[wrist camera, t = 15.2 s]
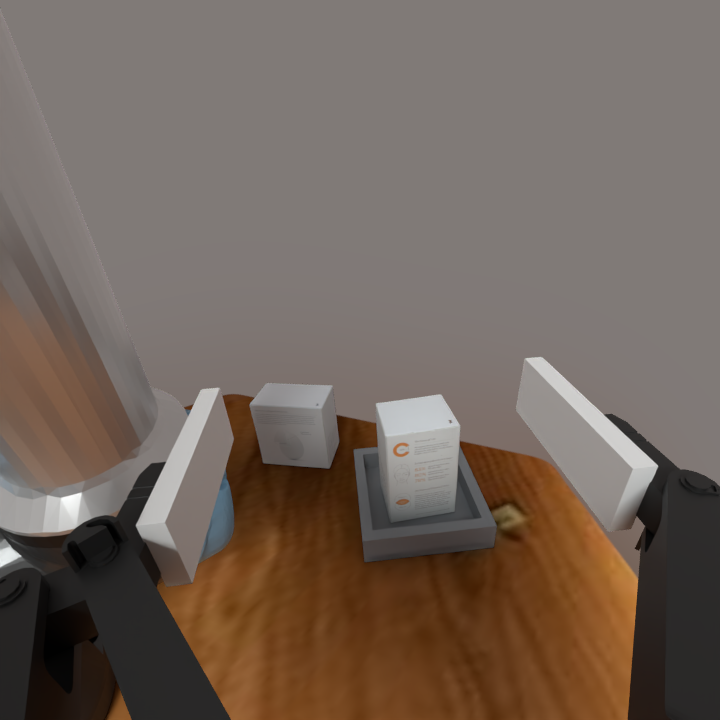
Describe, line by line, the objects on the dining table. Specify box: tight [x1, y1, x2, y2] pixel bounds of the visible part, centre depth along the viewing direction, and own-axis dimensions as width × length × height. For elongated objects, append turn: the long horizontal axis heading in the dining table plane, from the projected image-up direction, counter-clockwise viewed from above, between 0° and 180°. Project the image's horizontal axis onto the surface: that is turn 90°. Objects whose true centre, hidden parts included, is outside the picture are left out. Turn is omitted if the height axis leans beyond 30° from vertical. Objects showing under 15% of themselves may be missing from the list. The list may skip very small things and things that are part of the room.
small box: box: [376, 394, 460, 523], centre depth 45 cm, size 8×6×13 cm
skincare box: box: [250, 383, 339, 469], centre depth 56 cm, size 10×6×10 cm, turn 80°
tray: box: [354, 445, 497, 562], centre depth 48 cm, size 14×14×4 cm
